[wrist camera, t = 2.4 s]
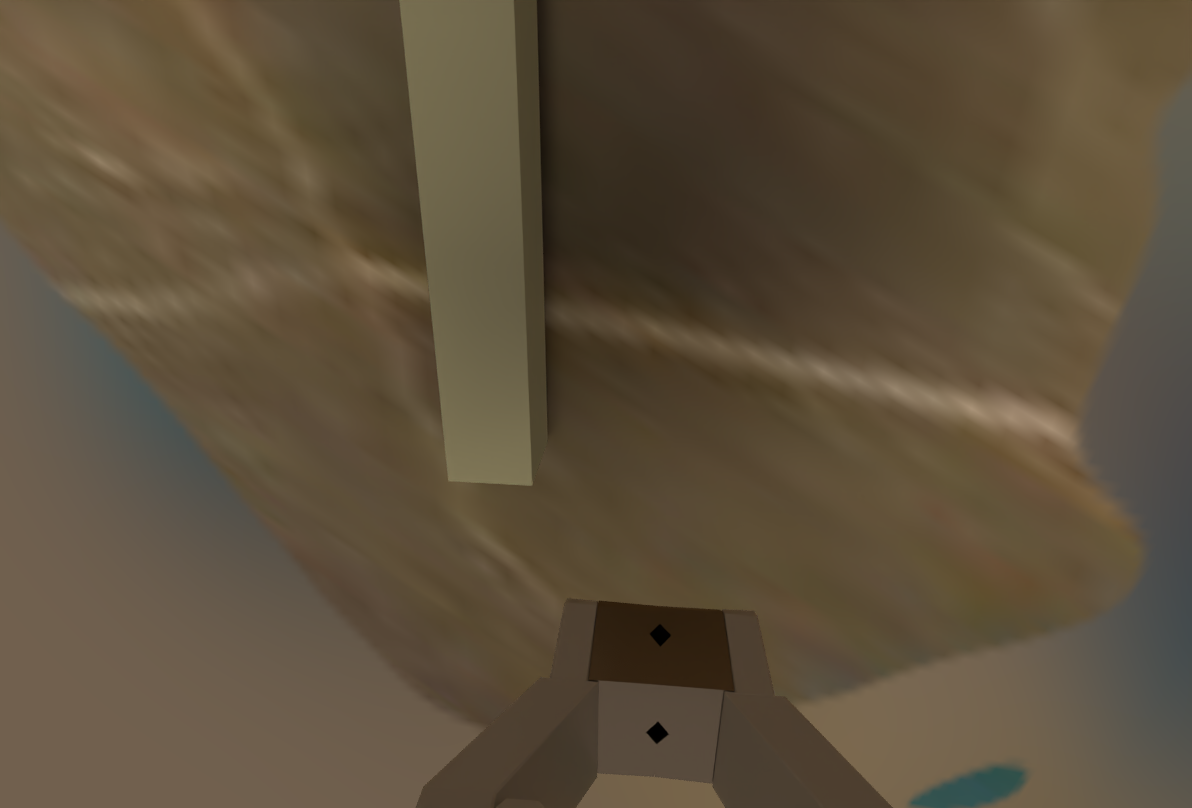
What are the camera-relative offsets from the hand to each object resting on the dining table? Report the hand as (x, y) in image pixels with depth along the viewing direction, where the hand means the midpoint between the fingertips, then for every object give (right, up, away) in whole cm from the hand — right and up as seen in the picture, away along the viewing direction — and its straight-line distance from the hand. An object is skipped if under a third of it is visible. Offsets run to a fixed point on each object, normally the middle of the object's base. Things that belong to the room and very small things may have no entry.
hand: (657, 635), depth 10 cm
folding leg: (-5, +13, +15) cm, 20 cm away
